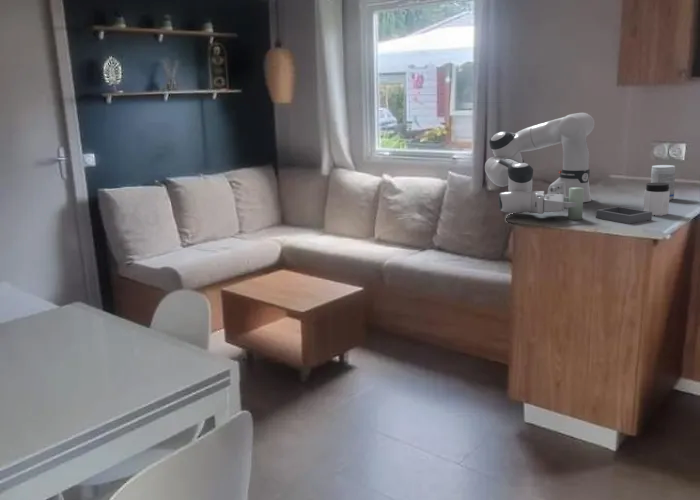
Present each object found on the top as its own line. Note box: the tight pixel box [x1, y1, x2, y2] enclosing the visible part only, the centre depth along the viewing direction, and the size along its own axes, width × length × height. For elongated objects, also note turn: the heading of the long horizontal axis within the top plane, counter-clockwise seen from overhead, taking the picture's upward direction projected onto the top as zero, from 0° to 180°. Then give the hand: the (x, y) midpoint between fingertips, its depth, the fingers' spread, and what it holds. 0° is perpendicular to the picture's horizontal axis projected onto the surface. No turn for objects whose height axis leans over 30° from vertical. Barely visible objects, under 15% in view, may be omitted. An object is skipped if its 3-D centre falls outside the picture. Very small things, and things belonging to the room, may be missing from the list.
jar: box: [643, 182, 670, 217], centre depth 258 cm, size 9×8×12 cm
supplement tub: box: [650, 164, 676, 201], centre depth 288 cm, size 10×10×15 cm
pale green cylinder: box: [567, 187, 584, 221], centre depth 256 cm, size 5×5×12 cm
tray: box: [595, 206, 653, 225], centre depth 252 cm, size 16×12×3 cm
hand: (576, 202), depth 256 cm, fingers open, 8 cm apart
